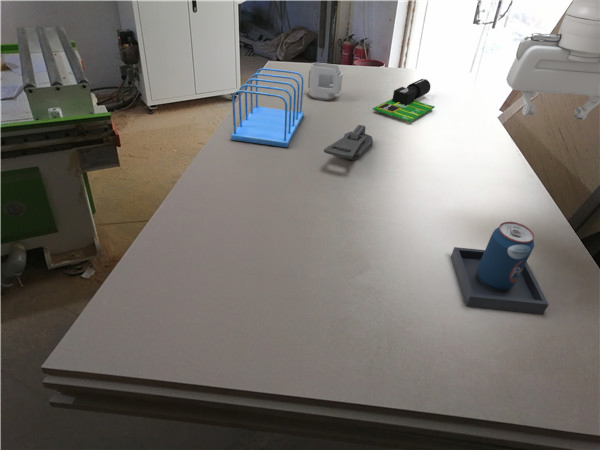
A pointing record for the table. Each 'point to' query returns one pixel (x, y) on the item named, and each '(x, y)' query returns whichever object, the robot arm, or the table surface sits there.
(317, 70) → the cable organizer
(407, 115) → the circuit board with cylinder
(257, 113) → the file sorter
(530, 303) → the tray
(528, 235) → the soda can
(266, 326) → the table surface
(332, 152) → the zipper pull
